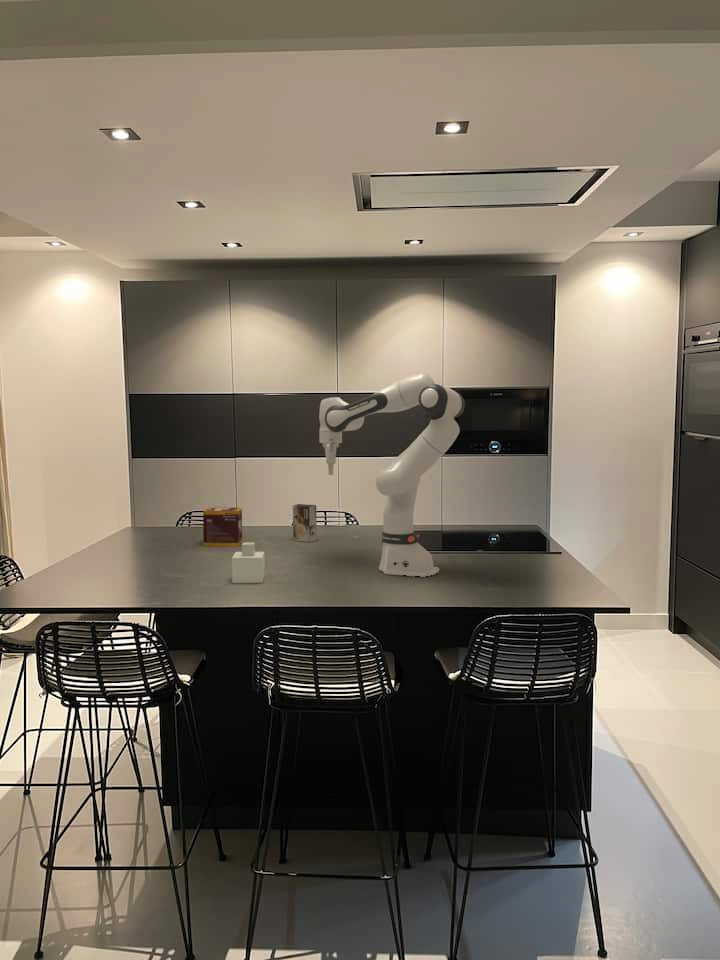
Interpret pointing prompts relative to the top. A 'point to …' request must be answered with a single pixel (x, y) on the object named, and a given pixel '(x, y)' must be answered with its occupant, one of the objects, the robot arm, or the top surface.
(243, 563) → the pale sage box
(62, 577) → the top surface
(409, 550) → the robot arm
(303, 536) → the coffee box
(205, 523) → the supplement box
